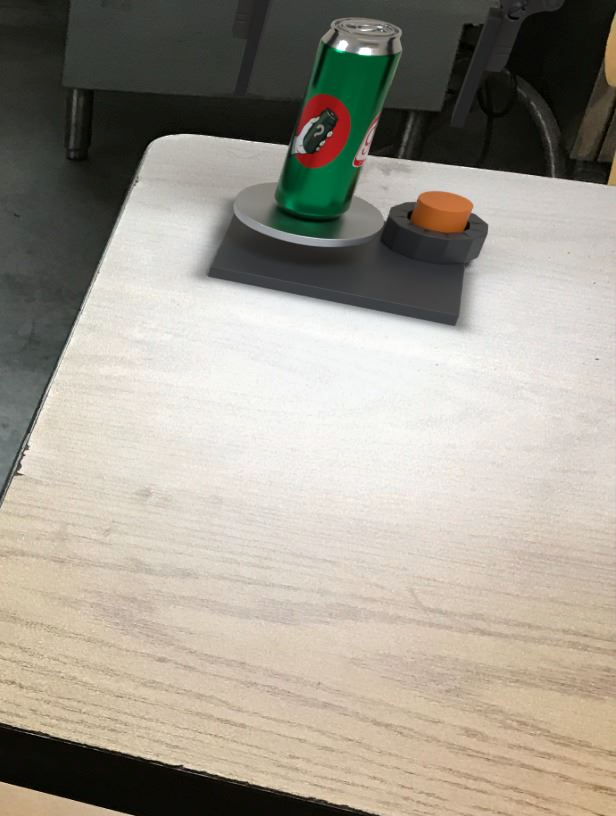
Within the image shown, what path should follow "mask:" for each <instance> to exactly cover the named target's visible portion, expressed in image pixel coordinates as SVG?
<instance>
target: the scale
mask: <svg viewBox="0 0 616 816" xmlns="http://www.w3.org/2000/svg"><path fill="white" fill-rule="evenodd" d="M416 202H417V201H405V202H402V203H399V204H397V205H393V206H391V207H390V209H389V210H388V211H389V212H388V214H387V217H386V219H385V220H384V226H383V228H382V231H381V233H380V235H379V236H378V237H377V238H375V239H374V240H372V241H370V242H368V243H365V244H362V245H357V246H350V247H316V246H307V245H301V244H295V243H291V242H287V241H283V240H279V239H276V238H273V237H270V236H267V235H265V234H262V233H260V232H258V231H256V230H254V229H252V228H250V227H248V226H247V225H246V224H244V223H243V222H242V221H241V220H240V219H238V217H237V216H236V215H235V212H233V215H232V217H231V220H230V222H229V224H228V226H227V229H226V230H225V232H224V235H223V238H222V240H221V241H220V244H219V246H218V249H217V250H216V253H215V255H214V257H213V260H212V262H211V264H210V267H209V270H208V274H207V277H209V278H213V279H218V280H222V281H227V282H233V283H237V284H241V285H248V286H253V287H257V288H262V289H268V290H272V291H277V292H282V293H287V294H292V295H296V296H303V297H306V298H311V299H317V300H322V301H327V302H332V303H336V304H342V305H346V306H352V307H357V308H361V309H366V310H373V311H377V312H383V313H387V314H390V315H391V314H392V315H395V316H396V315H398V316H400V317H401V316H402V317H406V318H412V319H416V320H422V321H426V322H431V323H437V324H442V325H446V326H450V327H451V326H452V327H456V325H457V322H458V320H459V317H460V310H461V303H462V294H463V285H464V278H465V277H464V276H465V268H466V263H468V262H471V261H473V260H476V259H478V258H479V256H480V254H481V251H482V250H483V249H482V248H483V246H484V244H485V242H486V239H487V237H488V235H489V224H488V223H487V222H486V221H485V220H483V219H482V218H481V217H480V216H479V215H477V214H476V213H473V212H471V214H470V217H469V219H468V222H467V224H466V227H465V229H464V231H463V232H451V233H445V232H440V231H434V230H428V229H426V228H423V227H421V226H418V225H415V224H413V223H412V222H411V221H410V218H411V215H412V213H413V210H414V207H415V205H416Z"/></svg>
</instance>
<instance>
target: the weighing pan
mask: <svg viewBox="0 0 616 816" xmlns="http://www.w3.org/2000/svg"><path fill="white" fill-rule="evenodd" d="M277 184H278V181H271V182H263V183H258V184H254V185H253V184H252V185H251V186H248V187H245V188H244V189H242V190H240V191H239V192H238V193H237V194H236V196H235V200H234V203H233V206H232V207H233V213H235V215H236V216H237V217H238V219H240V220H241V221H242V222H243V223H244V224H246V225H247V226H248V227H250V228H252V229H254V230H256V231H258V232H260V233H262V234H265V235H267V236H270V237H273V238H276V239H279V240H283V241H287V242H291V243H295V244H301V245H307V246H316V247H350V246H357V245H362V244H365V243H368V242H370V241H372V240H374V239H375V238H377V237H378V236H379V235H380V233H381V231H382V228H383V226H384V221H385V218H384V215H383V213H382V212H381V211H380V210H379V209H378V208H377V207H375V205H374V204H372V203H370V202H369V201H367V200H365V199H364V198H361V197H359V196H357V195H355V194H354V196H353V199H352V202H351V205H350V208H349V210H348V211H346V212H345V213H344V214H342V215H341V216H339V217H338V218H336V219H332V220H327V221H312V220H306V219H301V218H297V217H294V216H291V215H289V214H287V213H285V212H284V211H282V210H281V209H280V208H279V206H278V204H277V202H276V200H275V198H274V194H275V191H276V187H277Z"/></svg>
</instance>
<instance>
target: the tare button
mask: <svg viewBox="0 0 616 816" xmlns="http://www.w3.org/2000/svg"><path fill="white" fill-rule="evenodd" d="M415 202H416V205H415V207H414V210H413V213H412V215H411V218H410V221H411V222H412V223H413V224H415V225H418V226H421V227H423V228H426V229H428V230H434V231H440V232H445V233H451V232H463V231H464V229H465V227H466V224H467V222H468V219H469V217H470V214H471V213H472V211H473V209H474V203H473V202H472V201H471V200H470V199H468V198H466V197H465V196H462V195H459V194H457V193H453V192H450V191H449V192H448V191H441V190H429V191H424V192H421V193H420V194H419V195H418V197H417V199H416V201H415Z"/></svg>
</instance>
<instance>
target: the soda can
mask: <svg viewBox="0 0 616 816" xmlns="http://www.w3.org/2000/svg"><path fill="white" fill-rule="evenodd" d="M402 35H403V31H402V29H401V28H400V27H398V26H397V25H394V24H392V23H390V22H388V21H387V22H386V21H383V20H379V19H373V18H366V17H342V18H337V19H334V20H333V21H331V24H330V29H329V30H328V31H327V32H326V33H325V34H324V35H323V36H322V37H321V38H320V40H319V44H318V46H317V50H316V53H315V56H314V59H313V63H312V67H311V69H310V73H309V77H308V80H307V84H306V87H305V91H304V94H303V97H302V100H301V103H300V107H299V110H298V114H297V117H296V120H295V124H294V128H293V130H292V133H291V137H290V141H289V144H288V147H287V150H286V154H285V158H284V161H283V164H282V167H281V171H280V174H279V178H278V180H277V182H278V184H277V187H276V191H275V194H274V198H275V200H276V202H277V204H278V206H279V208H280V209H281V210H282V211H284V212H285V213H287V214H289V215H291V216H294V217H297V218H301V219H306V220H312V221H327V220H332V219H336V218H338V217H339V216H341V215H342V214H344V213H345V212H346V211H348V210H349V208H350V205H351V202H352V199H353V196H354V195H355V192H356V190H357V187H358V184H359V181H360V179H361V175H362V173H363V169H364V166H365V164H366V161H367V157H368V154H369V152H370V149H371V146H372V143H373V139H374V137H375V134H376V132H377V128H378V126H379V125H378V124H379V122H380V119H381V116H382V113H383V110H384V107H385V104H386V101H387V98H388V96H389V92H390V89H391V87H392V84H393V82H394V81H393V80H394V78H395V74H396V72H397V69H398V65H399V62H400V60H401V57H402V54H403V47H402V42H401V39H400V38H401V37H402Z"/></svg>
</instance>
